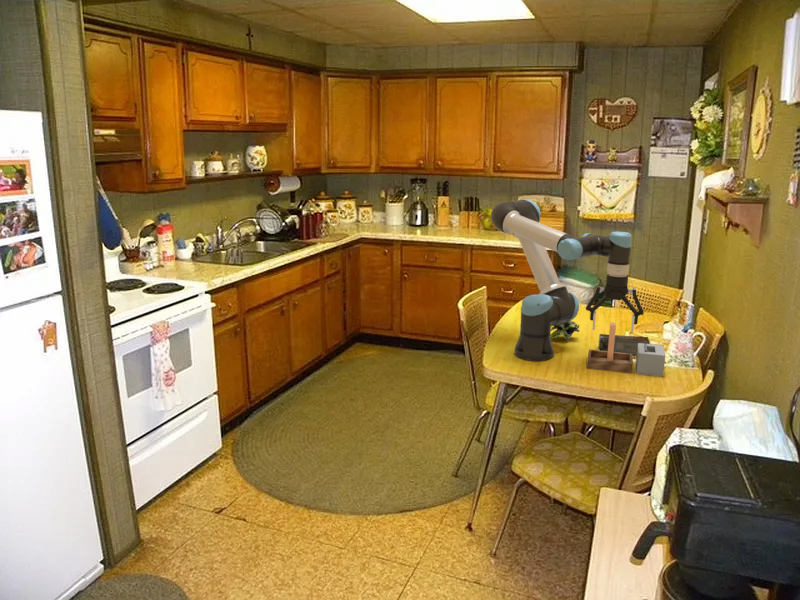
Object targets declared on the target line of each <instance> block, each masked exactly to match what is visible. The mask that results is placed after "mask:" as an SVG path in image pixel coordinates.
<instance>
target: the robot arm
mask: <svg viewBox="0 0 800 600" xmlns="http://www.w3.org/2000/svg"><path fill="white" fill-rule="evenodd" d="M489 216H490V222H491V224H492V226H493V227H494V228H495V229H496V230H498V231H499V232H501V233H504V234H507V235H511V234H512V236H513V237H514V238H515V239H518V241H519V244H520V246H521V248H522V250H523V251H522V252H523V253H524V255H525V259H526V260H527V262H528V265H529V267H530V270H531V272H532V275H533V277H534V280H535V282H536V284H537V288H538V290H539V293H538V294H531V295H528V296H525V297H524V298H523V300H521V307H520V328H519V329H520V333H519V337H518V340H517V341H516V343H515V347H514V355H515V356H516V357H518V358H519V359H522V360H525V361H533V362H542V361H543V362H544V361H547V360H549V361H550V360H551V359H553V358H554V355H555V354H554V353H555V351H554V345H553V342H552V338H550V335H551V332H552V331H551V329H552V327H554V325H558V324H561V323H566V322H568V321H573V320H574V319H575V318H577V315H578V314H579V313H578V312H579V311H580V302H579V300H578V297H577V296H576V295H575V294H573V293H572V292H571V291H570V292H569V291H568V289H567V286H566V285H565V284H562V283H561V282H560V280H559V277H558V274H557V272H556V270H555V267H554V266H553V262H552V260H551V258H550V255H549V253H548V251H547V249H549V250H551V251H554V252H556V253H558V255H559V256H560V258H561V259H563V260H566V261H568V260H569V261H570V260H571V261H574V260H577V259H581V258H582V259H583V258H587V257H592V256H593V257H594V256H599V257H601V256H602V257H606V258H607V266H606V267H607V268H606V273H607V274H606V277H605V278H606V280H605V286H603V287H602V286H600V285H597V286H596V291H595V292H594V293H593V295H592V297H591V298H590V300H589V302H588V303H587V305H586V307H585V311H588V312H590V314H589V320H590V321H591V322H592V328H591V329H592V331H595V328H596V316H597V315H596V314H597V311H596V310H598V308H600V307H601V306H602V305H603V304H604V303H605V302H606V301H608V300H610V301H611V300H612V301H614V300H616V301H621V300H622V301H623V302H624V304H625V305H626V306H627V308H628V309H629V310H630V311H631V313H632V315H631V316H632V317H631V325H630V326H631V327H630V334H634V328H635V325H637V324H638V322H639V316H643V315H644V313H645V312H644V309H643V307H642V305H641V302H640V300H639V298H638V295H637V289H636V287H633V288H628V283H629V276H628V275H629V272H630V259H631V251H632V250H631V249H632V246H633V245H632V241H633V240H632V234H631V233H630V232H626V231H612V232H610V233H609V236H607V235H603V234H596V233H584V234H582V236H579V237H578V236H577V237H576V236H573V235H571V234H568V233H567V232H564V231H561V230H558V229H556V228H554V227H550V226H549V225H546V224H543V223H541V222H540V221H541V216H542V213H541V209H540V207H539V205H538V204H537V203H535V201H533V200H530V199H518V200H506V201H501V202H498V203H497V204H495V205H494V207H493V208H492V209H491V212H490V215H489ZM602 292H604V293H605V294H604V295H603V297H602V298H601V299H600V300H599V301H598V302H596V303H595V304H594V302H595V301H596V299H597V298H598V296H599V295H600V294H601V293H602ZM628 293H629V294H630V296H632V298H633V301H634V302H635V305H636V307H637V309H638V310H637V309H636V308H635V307H634V305H633V304H632V302H631V301H630V300H629V299H628V297H627V295H628ZM593 304H594V305H593Z"/></svg>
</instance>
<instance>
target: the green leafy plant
mask: <svg viewBox="0 0 800 600" xmlns="http://www.w3.org/2000/svg"><path fill="white" fill-rule="evenodd" d="M551 332H552V333H550V338H551V339H553V340H554V339H557V338H558V337H560V336H562V337H563V338H564V339H565V341H566V343H568V342H569V340H570V337H572V335H573V333H575V332H577V333H579V332H580V324H577V322H575V321H573V320H571V321H568V322H566V323H561V324H558V325H554V326H551Z"/></svg>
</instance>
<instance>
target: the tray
mask: <svg viewBox="0 0 800 600" xmlns="http://www.w3.org/2000/svg"><path fill="white" fill-rule="evenodd" d="M587 352H588V354H587V361H586V369H590V370H598V371H608V372H616V373H617V372H619V373H625V374H627V373H628V374H633V369H634V360H633V359H634V358H633V357H634V355H633V354H629V353H619V352H614V353H613V361H607V354H608V351H599V349H588V351H587Z"/></svg>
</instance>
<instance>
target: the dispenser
mask: <svg viewBox="0 0 800 600" xmlns="http://www.w3.org/2000/svg"><path fill="white" fill-rule="evenodd" d="M665 351H666V350H665V346H664V345H662V344H652V343H650V344H643V343H638V346H637V355H635V357H636V358H635V371H636V372H635V373H636V374H637V375H644V376H653V377H662V378H663V377H664V372H665V364H666V363H665V362H666V353H665Z"/></svg>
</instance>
